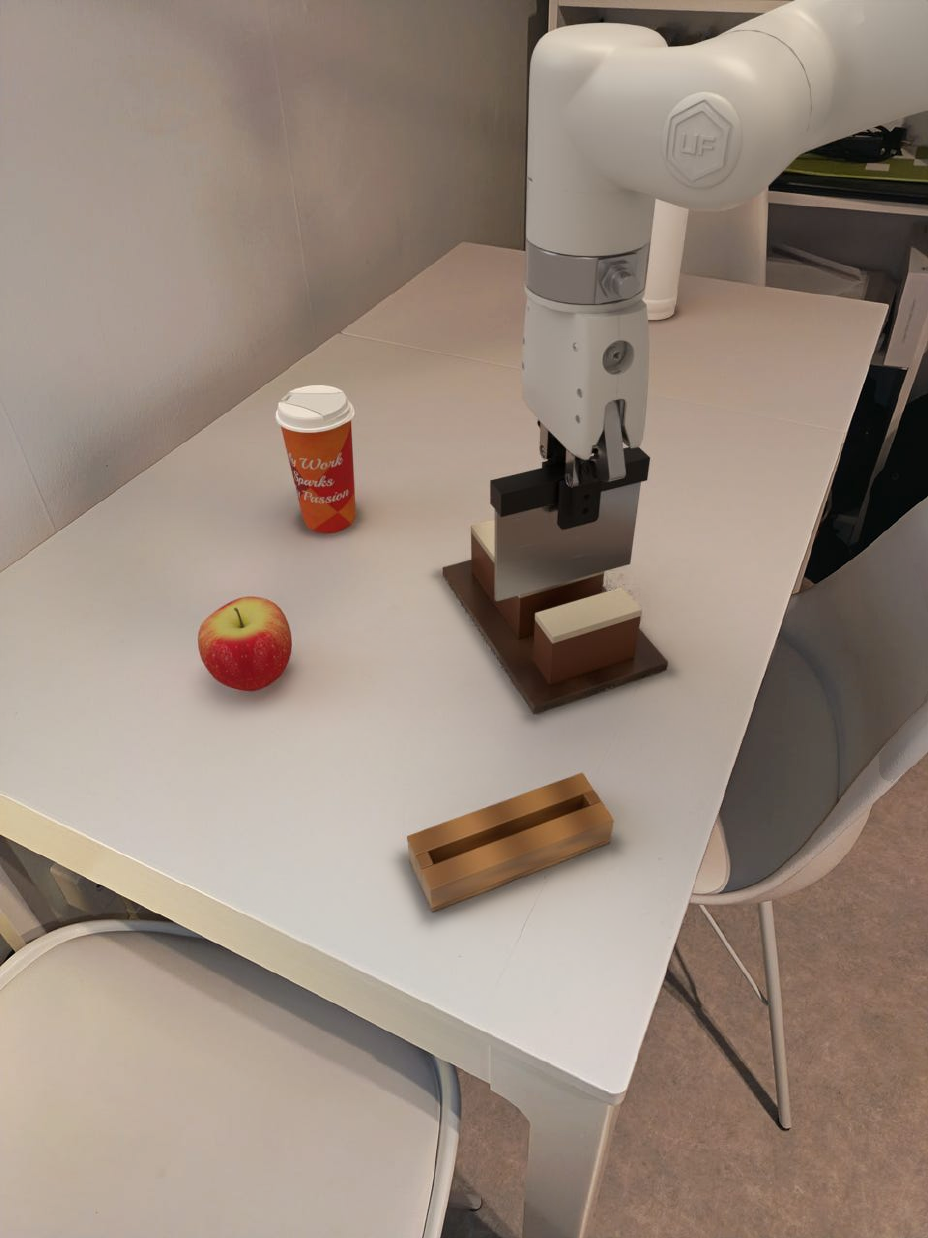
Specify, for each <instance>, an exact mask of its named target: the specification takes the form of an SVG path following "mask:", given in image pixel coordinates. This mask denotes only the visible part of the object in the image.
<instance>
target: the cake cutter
mask: <svg viewBox="0 0 928 1238" xmlns="http://www.w3.org/2000/svg"><path fill="white" fill-rule="evenodd" d="M623 451H624V460H625V469H626V475H625V477H624V478H622V479H618V480H614V481H610V482H605V481H602V488H601V498H600V509H599V518H598V519H597V521H595V522H592V523H589V524H585V525H581V526H577V527H574V528H570V529H566V530H562V529H560V527H559V526H558V525H557V515H558V498H559V481H563V480H565V466H566V462H564V463H560V464H556V465H552V466H548V467H543V468H542V467H540V468H539V467H538V468H536V469H532V470H528V471H527V470H526V471H522V472H519V473H515V474H511V475H506V476H503V477H498V478H494V479H490V481H489V500H490V501H489V504H490V505H491V506H492V508H493V509H494V519H495V535H494V599H495V600H496V602H497V601H500V600H504V599H507V598H511V597H515V596H518V595H522V594H525V593H529V592H532V591H536V590H540V589H543V588H547V587H550V586H554V585H557V584H561V583H564V582H568V581H572V580H575V579H579V578H582V577H586V576H589V575H593V574H596V573H600V572H604V571H605V572H607V571H610V570H614V569H617V568H622V567H625V566H627V565H631V562H632V554H633V546H634V541H635V540H634V539H635V532H636V531H635V530H636V523H637V517H638V509H639V501H640V492H641V486H642V485H641V484H642V482H646V481H647V482H648V478H649V470H650V463H651V456H650V455H649V454H647V452H645V451H644V450H643V449H642V448H641V447H640V446H639V447H638V448H630V447H629V446H627V447H623ZM593 459H594V454H592V455H591V456H590V458H589V459H588V460H584V459H581V464H582V463H584V462H585V461H589V460H593ZM581 464H580V465H581Z"/></svg>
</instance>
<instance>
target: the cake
mask: <svg viewBox="0 0 928 1238" xmlns="http://www.w3.org/2000/svg"><path fill="white" fill-rule="evenodd" d="M494 535H495V518H493V519H490V520H486V521H482V522H478V523H475V524H471V525H470V554H471V555H470V556H471V557H470V559H468V560H463V561H461V562H457V563H453V564H450V565H446V566H443V567H442V568H441V569H442V576H444V578H445V580H446V581H447V583H448V585H449V586H450V587H451V589H452V591H453V592H454V594H455V595H456V597H457V599H458V600H459V602H460V603H461V604H462V606H463V608H464V609H465V610H466V612H467V614H468V615H469V617H470V618H471V621H473V623H474V624H475V626H476V628H477V629H478V631H479V632H480V634H481V635H482V636H483V638H484V640H485V641H486V643H487V644H488V646H489V647H490V649H491V651H492V652H493V654H494V655H495V656H496V658H497V661H498V662H499V663H500V664H501V666H502V667H503V669H504V670H505V672H506V673H507V675H508V676H509V678H510V680H511V681H512V683H513V684H514V685H515V687H516V688H517V690H518V692H519V693H520V695H521V696H522V698H523V699H524V701H525V703H526V704H527V705H528V707H529V709H530V710H531V712H532V713H533V714H538V713H541V712H544V711H547V710H551V709H553V708H556V707H559V706H561V705H564V704H568V703H571V702H573V701H577V700H580V699H583V698H586V697H588V696H592V695H594V694H598V693H600V692H601V693H602V692H604V691H606V690H610V689H613V688H615V687H618V686H621V685H624V684H627V683H630V682H633V681H636V680H639V679H642V678H645V677H647V676H651V675H654V674H657V673H660V672H664V671H667V670H668V665H669V662H668V659H666V657H664V655H663V654H662V653H661V652H660V651H659V650H658V648H657V647H656V646H655V645H654V644H653V642H652V641H651V640H650V639H649V638H648V636H646V634H644V632H643V631H642V630H641V628H639V633H638V639H637V646H636V652H635V657H634V658H631V659H628V660H625V661H621V662H618V663H615V664H612V665H609V666H606V667H603V668H600V669H597V670H594V671H591V672H588V673H585V674H582V675H579V676H576V677H573V678H569V679H566V680H563V681H560V682H557V683H554V684H551V685H549V683H548V682H547V680H546V679H545V677H544V676H543V674H542V673H541V672H540V670H539V669H538V667H537V666H536V664H535V663H534V662H533V650H534V629H535V613H537V612H540V611H544V610H547V609H550V608H554V607H557V606H560V605H564V604H567V603H570V602H574V601H577V600H580V599H584V598H587V597H591V596H594V595H597V594H601V593H604V592H607V591H608V590H607V589H606V588H605V587H604V580H605V579H604V578H605V572H606V571H604V572H600V573H596V574H593V575H589V576H586V577H582V578H579V579H575V580H572V581H568V582H564V583H561V584H557V585H554V586H550V587H547V588H543V589H540V590H536V591H532V592H529V593H525V594H522V595H518V596H515V597H511V598H507V599H504V600H500V601H497V602H496V600H495V599H494Z"/></svg>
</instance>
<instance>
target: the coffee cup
mask: <svg viewBox="0 0 928 1238" xmlns="http://www.w3.org/2000/svg"><path fill="white" fill-rule="evenodd" d="M355 413H356V411H355V409H354V406H353V404H352V403H351V401H349V399H348V397H347V396H346V394H345V392H344V391H343V390H341V389H340V388H337V387H335V386H332V385H323V384H312V385H305V386H300V387H298V388H294V389H291V390H290V391H288V392H287V394H285V395H284V396H283V397H282V398H281V399H280V401H279V402H278V405H277V409H276V412H275V421H276V422H277V423H278V425H279V426H280V428H281V432H282V437H283V441H284V445H285V450H286V453H287V459H288V462H289V467H290V471H291V475H292V478H293V483H294V487H295V492H296V495H297V500H298V504H299V507H300V511H301V517H302V520H303V522H304V524H305V526H306V527H307V528H308V529H309V530H311V531H312V532H316V533H321V534H334V533H337V532H340V531H344V530H346V529H347V528H349V527H350V526H351V525H352V524H353V523H354V522H355V520H356V493H355V492H356V489H355V468H354V451H353V433H352V432H353V429H352V419H353V418H354V416H355Z"/></svg>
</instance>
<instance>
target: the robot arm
mask: <svg viewBox="0 0 928 1238" xmlns="http://www.w3.org/2000/svg"><path fill="white" fill-rule="evenodd" d="M532 51H533V52H532V54H531V58H530V65H529V76H528V77H529V78H528V79H529V80H528V81H529V84H528V119H527V121H528V122H527V159H526V160H527V161H526V164H527V165H526V169H527V170H526V203H525V205H526V207H525V208H526V210H525V245H524V246H525V248H524V287H523V289H524V290H523V291H524V294H525V296H526V304H525V313H524V323H523V335H522V349H521V350H522V351H521V394H522V398H523V399H522V400H523V402H524V403H525V405H526V407H527V409H528V410H529V411H530V412H531V413H532V414H533V416H534V417H535V418H536V419H537V422H536V423H537V426H538V427H539V447H538V449H539V454H540V457H541V458H542V460H543V461H541V468H543V467H548V466H552V465H556V464H560V463H564V462H566V466H565V480H563V481H559V498H558V515H557V525H558V526H559V527H560V529H562V530H566V529H570V528H574V527H577V526H581V525H585V524H589V523H592V522H595V521H597V519H598V518H599V509H600V498H601V488H602V481H605V482H610V481H614V480H618V479H622V478H624V477H625V475H626V469H625V460H624V451H623V448H624V444H625V445H626V446H627V447H630V448H638V447H639V448H640V446H641V445H642V443H643V440H644V435H645V427H646V419H647V408H648V407H647V406H648V392H649V375H650V334H649V333H650V329H649V320H648V315H647V305H646V303H645V302H644V301H643V300H642V298H643V297H644V294H645V288H646V279H647V271H648V262H649V253H650V244H651V236H652V227H653V218H654V209H655V201H656V199H658V200H661V201H664V202H667V203H670V204H673V205H676V206H679V207H682V208H686V209H689V211H695V212H704V213H705V212H706V213H716V212H717V213H718V212H724V211H729V210H732V209H735V208H739V207H741V206H743V205H745V204H747V203H748V202H750V201H752V200H754V198H756V197H757V196H759V195H760V194H762V193H763V192H764V191H765V190H766V189H767V188H768V187H769V186H770V185H771V184H772V183H773V182H774V181H775V180H776V179H777V178H778V177H779V176H781V174H782V173H783V172H784V171H785V170H786V169H787V168H788V167H789V166H790V165H791V164H792V163H793V162H794V161H795V160H796V159H797V158H798V157H799V156H800V155H802V154H805V153H806V152H810V151H812V150H815V149H817V148H820V147H822V146H825V145H827V144H831V143H833V142H836V141H838V140H841V139H844V138H847V137H850V136H853V135H856V134H858V133H861V132H864V131H867V130H871V129H873V128H876V127H879V126H882V125H885V124H888V123H892V122H894V121H896V120H900V119H904V118H906V117H910V116H913V115H916V114H919V113H924V112H927V111H928V0H791V1H790V2H788V3H786V4H783V5H781V6H779V7H776V8H774V9H771V10H770V11H766V12H764V13H763V14H760V15H758V16H756V17H754V18H752V19H749V20H747V21H745V22H742V23H740V24H738V25H736V26H734V27H732V28H730V29H728V30H726V31H724V32H722V33H721V34H719V35H716V36H715V37H712V38H709V39H706V40H702V41H700V42H697V43H694V44H689V45H680V46H679V45H678V46H668V44H667V41H666V39H665V38H664V37H663V36H662V35H661V34H660V33H659V32H658V31H655V30H654V29H652V28H649V27H646V26H642V25H635V24H628V23H616V22H593V23H592V22H591V23H589V22H588V23H580V24H573V25H566V26H561V27H558V28H555V29H553V30H551V31H548V32H547V33H545V34H544V35H543V36H542V37H541V38H539V40H538V42H537V43H536V45H535V47H534V48H533V50H532ZM593 455H594V459H593V460H589V461H585V462H584V463H582V464H581V459H584V460H588V459H589V458H590V456H593ZM580 464H581V465H580Z"/></svg>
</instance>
